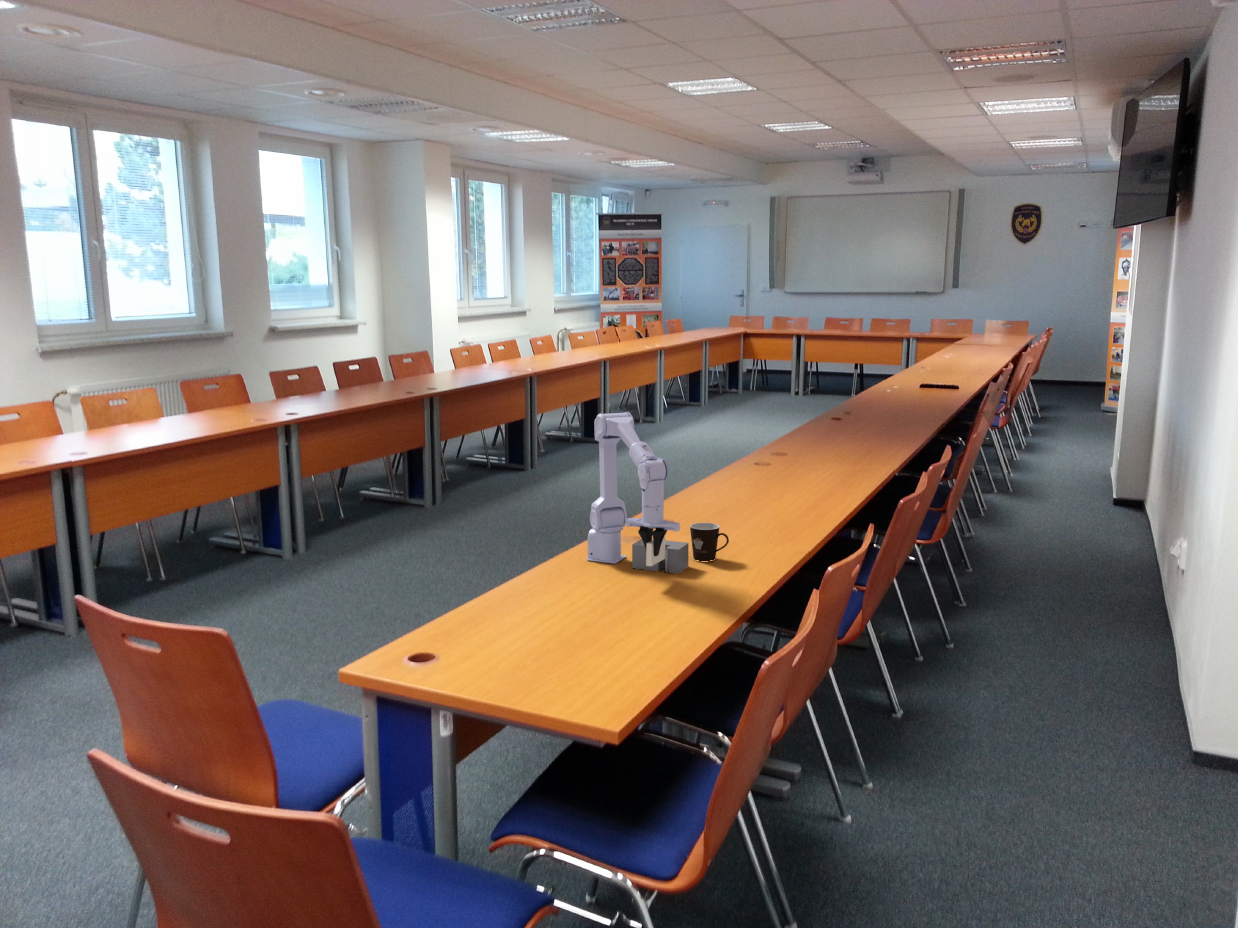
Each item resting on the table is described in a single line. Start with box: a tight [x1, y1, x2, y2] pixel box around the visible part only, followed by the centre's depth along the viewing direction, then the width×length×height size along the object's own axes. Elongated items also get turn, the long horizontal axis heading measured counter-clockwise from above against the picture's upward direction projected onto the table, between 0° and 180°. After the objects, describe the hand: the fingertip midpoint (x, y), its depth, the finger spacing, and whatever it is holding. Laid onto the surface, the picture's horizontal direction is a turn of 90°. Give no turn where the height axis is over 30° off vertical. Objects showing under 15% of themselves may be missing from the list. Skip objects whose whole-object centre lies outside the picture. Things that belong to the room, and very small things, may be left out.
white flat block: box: [646, 536, 666, 566], centre depth 249 cm, size 2×10×6 cm, turn 156°
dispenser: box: [631, 538, 690, 575], centre depth 263 cm, size 14×9×7 cm, turn 66°
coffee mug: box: [689, 522, 730, 561], centre depth 270 cm, size 12×9×10 cm
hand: (652, 554), depth 247 cm, fingers closed on white flat block, 1 cm apart
